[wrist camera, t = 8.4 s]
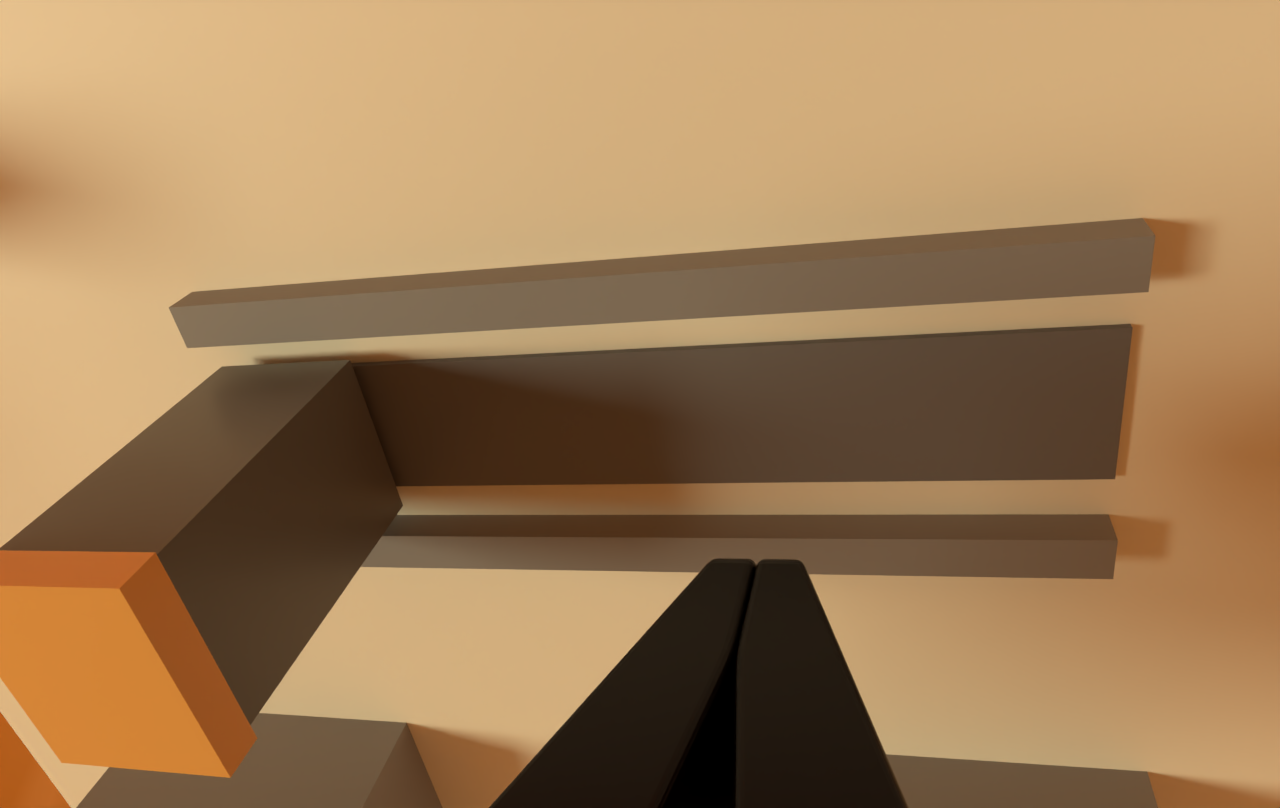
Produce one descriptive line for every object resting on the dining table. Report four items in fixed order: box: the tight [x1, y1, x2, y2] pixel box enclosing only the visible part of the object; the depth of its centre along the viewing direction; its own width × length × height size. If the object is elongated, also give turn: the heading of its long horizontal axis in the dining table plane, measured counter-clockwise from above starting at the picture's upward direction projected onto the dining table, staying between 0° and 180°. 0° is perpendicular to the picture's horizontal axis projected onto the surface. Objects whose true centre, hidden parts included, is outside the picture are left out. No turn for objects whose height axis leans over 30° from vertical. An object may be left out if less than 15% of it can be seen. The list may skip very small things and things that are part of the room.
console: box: [0, 0, 1280, 808], centre depth 13 cm, size 19×26×8 cm
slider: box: [0, 360, 403, 778], centre depth 11 cm, size 3×2×4 cm
